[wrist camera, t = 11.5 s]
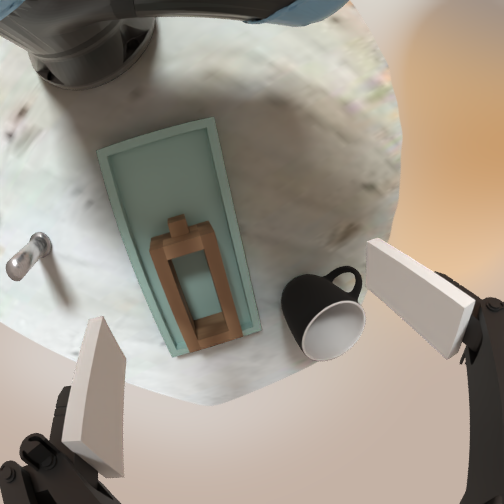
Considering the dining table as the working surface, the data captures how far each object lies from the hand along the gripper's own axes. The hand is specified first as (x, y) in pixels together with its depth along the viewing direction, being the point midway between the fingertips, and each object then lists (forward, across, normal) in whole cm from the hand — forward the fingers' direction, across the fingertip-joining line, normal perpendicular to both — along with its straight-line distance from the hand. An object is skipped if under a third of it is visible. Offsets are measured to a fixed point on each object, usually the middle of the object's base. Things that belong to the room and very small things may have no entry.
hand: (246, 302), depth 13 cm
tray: (+22, -3, -6) cm, 23 cm away
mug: (+22, +12, -16) cm, 30 cm away
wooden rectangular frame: (+22, -3, -10) cm, 24 cm away
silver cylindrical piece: (+22, -21, 0) cm, 31 cm away
